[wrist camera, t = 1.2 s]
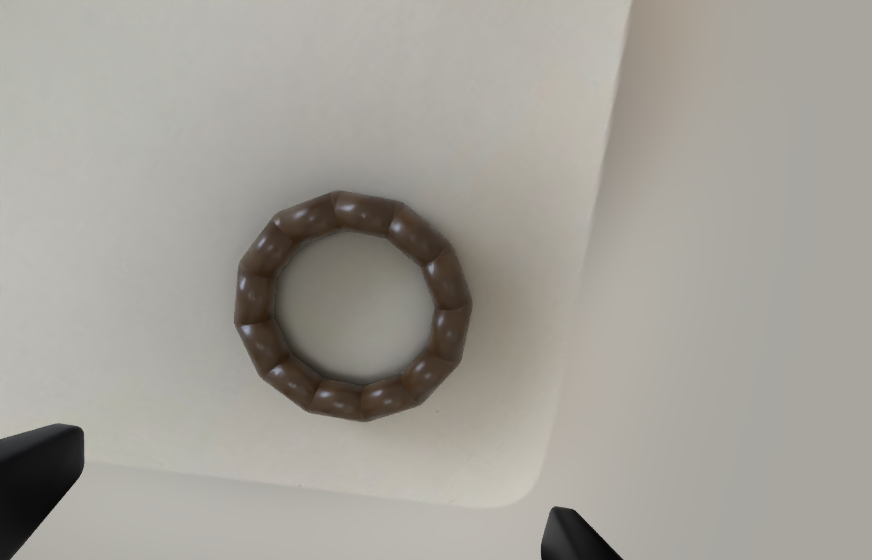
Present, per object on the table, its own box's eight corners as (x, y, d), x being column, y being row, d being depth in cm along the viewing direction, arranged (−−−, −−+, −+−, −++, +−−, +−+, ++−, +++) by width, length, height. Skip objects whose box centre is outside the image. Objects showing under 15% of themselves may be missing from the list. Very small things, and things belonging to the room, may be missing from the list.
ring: (445, 424, 21) (445, 444, 20) (237, 388, 21) (221, 404, 19) (489, 217, 19) (492, 220, 17) (256, 173, 19) (238, 173, 17)
